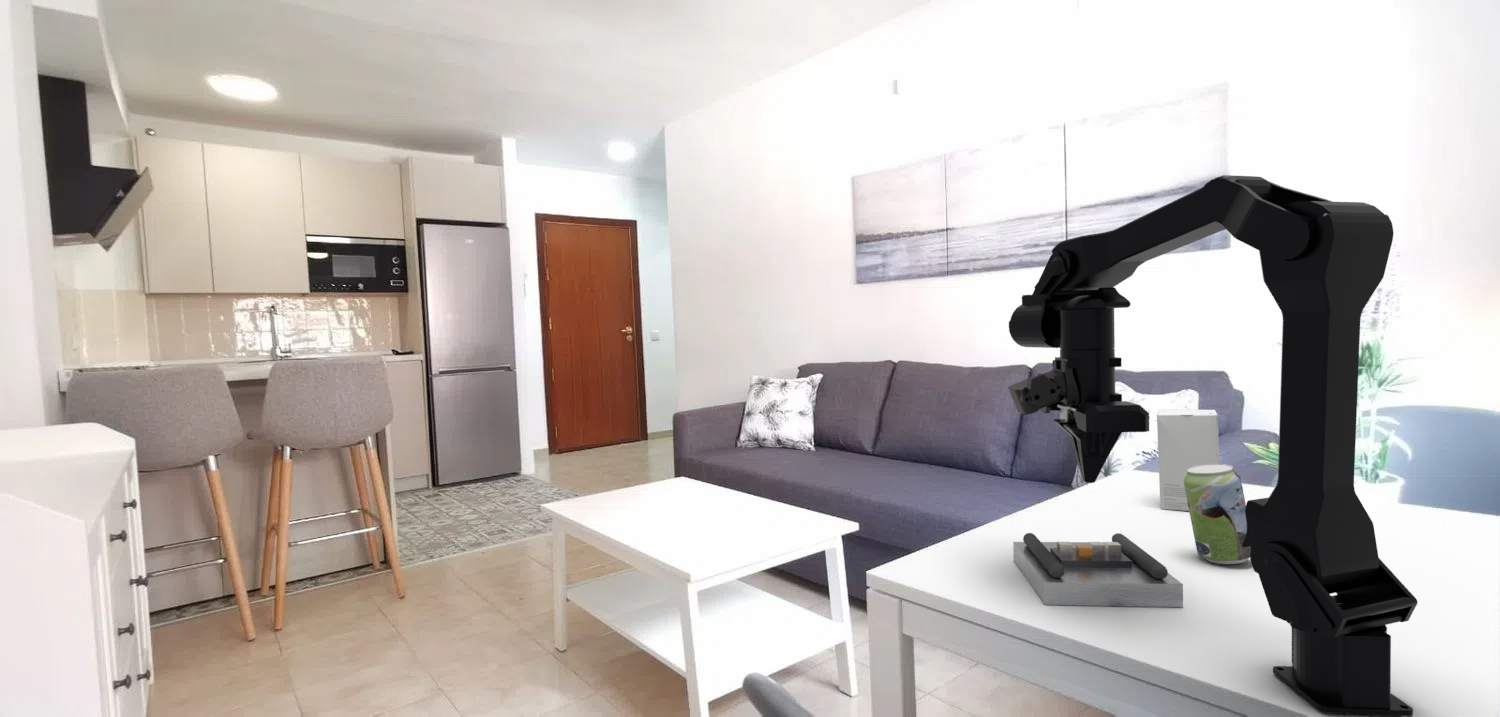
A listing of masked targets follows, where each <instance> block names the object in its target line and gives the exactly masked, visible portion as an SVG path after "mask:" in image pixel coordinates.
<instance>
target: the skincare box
mask: <svg viewBox="0 0 1500 717" xmlns="http://www.w3.org/2000/svg"><path fill="white" fill-rule="evenodd" d="M1218 421H1219V415H1218V412H1217V411H1216V410H1215V409H1176V408H1174V409H1164V408H1158V410H1157V413H1156V427H1157V428H1156V429H1157V454H1158V477H1159V478H1158V479H1159V483H1158V484H1159V499H1160V500H1159V501H1160V504H1159V505H1160V510H1166V509H1167V510H1168V511H1184V512H1189V507H1188V502H1187V497H1186V492H1185V486H1184V478H1185V476H1186V474H1187V469H1188V468H1190V467H1193V466H1198V465H1206V464H1220V451H1219V449H1220V448H1219V447H1220V446H1219V444H1220V443H1219V440H1220V439H1219V422H1218Z"/></svg>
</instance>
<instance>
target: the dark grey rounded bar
mask: <svg viewBox="0 0 1500 717" xmlns="http://www.w3.org/2000/svg"><path fill="white" fill-rule="evenodd" d="M1022 538H1023V539H1022V540H1023V541H1022V542H1024V543H1025V544H1026V545H1027V546H1028V548H1029V549H1030V550H1031V551H1032V552H1033V554H1034V555H1035V556H1036V557H1037V559H1038V560H1039V561H1040V562H1041V563H1042V565H1043V566H1044V567H1045V568H1046V570H1047V571H1048V572H1049V573H1050V574H1051V575H1052V576H1053V577H1055V578H1060V577H1062V576H1063V575H1064V572H1065V570H1064V567H1063V566H1062V565H1061V564H1060V563H1059V562H1058V560H1057V559H1056V558H1055V557H1054V556H1053V555H1052V554H1051V553H1050V552H1049V550H1048V549H1047V548H1046V547H1045V546H1044V545H1043V544H1042V543H1041V542H1042V541H1041V540H1040V539H1039V538H1038V537H1037V536H1036V535H1035V534H1034V533H1031V532H1028V533H1027V532H1026V533H1025V534H1024V536H1023V537H1022Z"/></svg>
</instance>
